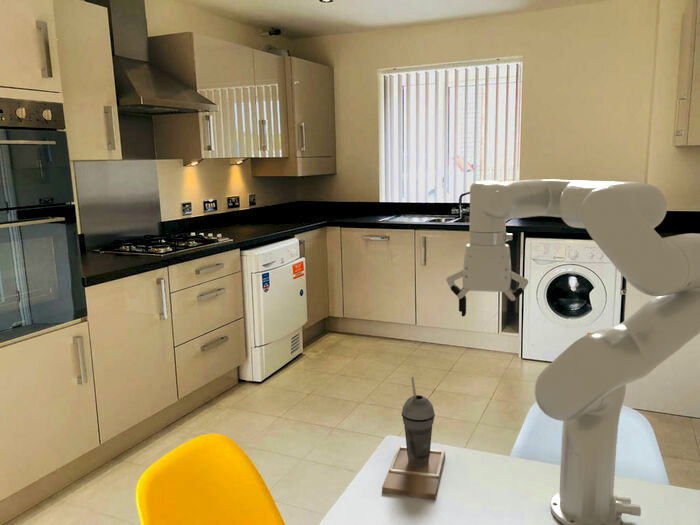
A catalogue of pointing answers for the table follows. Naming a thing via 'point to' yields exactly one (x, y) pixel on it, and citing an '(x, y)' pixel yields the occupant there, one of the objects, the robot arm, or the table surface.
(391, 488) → the walnut board
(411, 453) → the beverage cup
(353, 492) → the table surface
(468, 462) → the table surface
